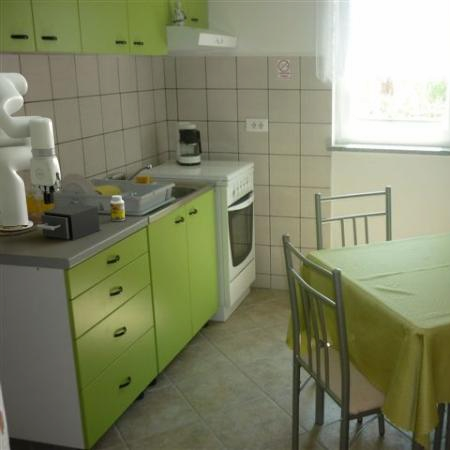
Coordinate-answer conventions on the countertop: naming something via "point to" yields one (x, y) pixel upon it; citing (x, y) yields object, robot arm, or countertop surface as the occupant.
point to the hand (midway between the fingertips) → (49, 203)
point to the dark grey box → (78, 218)
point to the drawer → (55, 226)
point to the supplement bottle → (117, 208)
